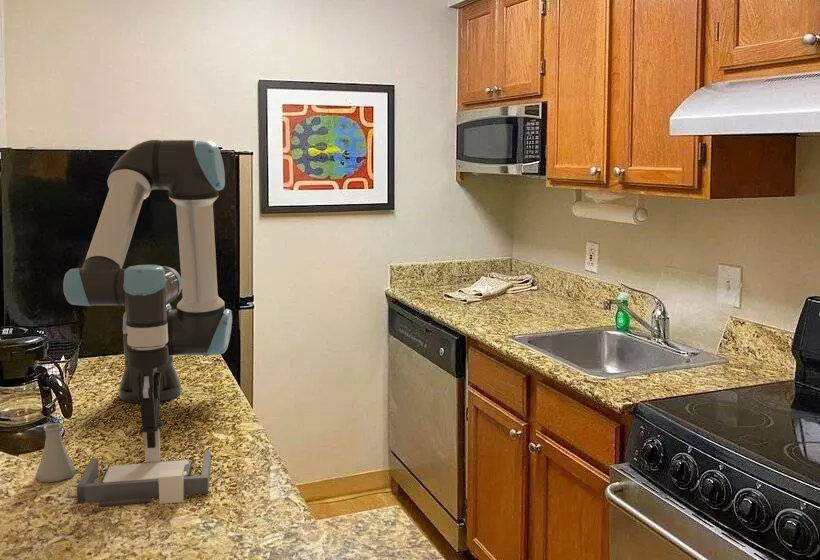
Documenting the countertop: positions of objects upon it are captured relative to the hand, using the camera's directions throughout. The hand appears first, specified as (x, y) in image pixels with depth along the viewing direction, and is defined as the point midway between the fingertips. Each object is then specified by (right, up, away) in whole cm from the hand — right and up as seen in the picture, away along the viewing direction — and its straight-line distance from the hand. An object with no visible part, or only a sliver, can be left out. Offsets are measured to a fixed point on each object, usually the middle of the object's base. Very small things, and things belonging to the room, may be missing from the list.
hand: (153, 460), depth 152 cm
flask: (-17, -2, -5) cm, 18 cm away
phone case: (0, -2, -5) cm, 5 cm away
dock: (+2, -3, -9) cm, 10 cm away
